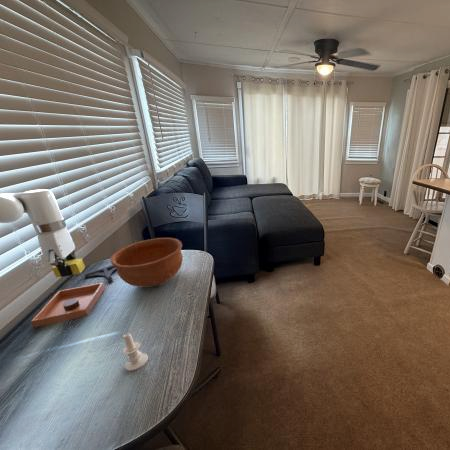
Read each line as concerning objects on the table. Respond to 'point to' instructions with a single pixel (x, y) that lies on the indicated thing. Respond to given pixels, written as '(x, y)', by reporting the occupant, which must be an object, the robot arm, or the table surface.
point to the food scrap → (71, 304)
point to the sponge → (74, 264)
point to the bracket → (105, 272)
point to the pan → (55, 308)
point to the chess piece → (133, 354)
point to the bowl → (148, 261)
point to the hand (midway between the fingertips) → (70, 271)
